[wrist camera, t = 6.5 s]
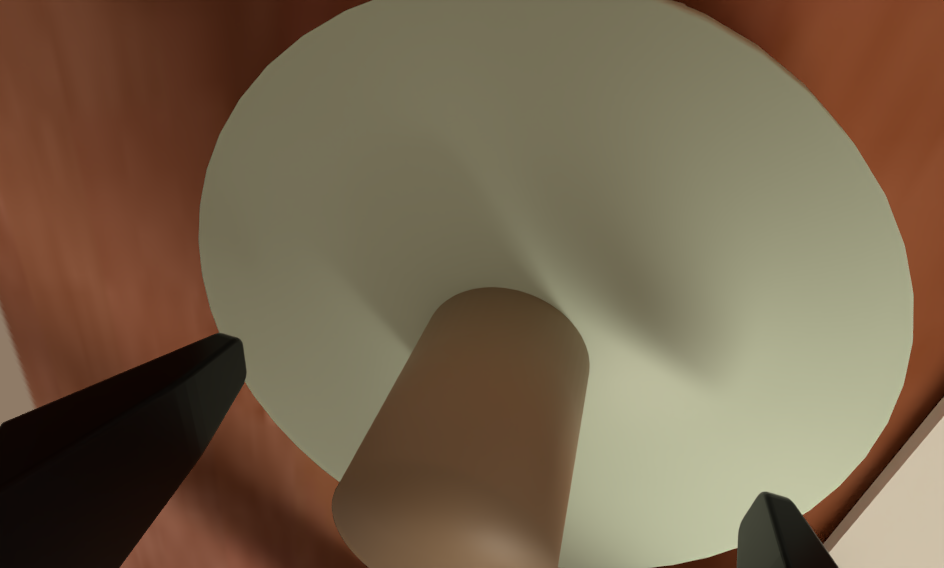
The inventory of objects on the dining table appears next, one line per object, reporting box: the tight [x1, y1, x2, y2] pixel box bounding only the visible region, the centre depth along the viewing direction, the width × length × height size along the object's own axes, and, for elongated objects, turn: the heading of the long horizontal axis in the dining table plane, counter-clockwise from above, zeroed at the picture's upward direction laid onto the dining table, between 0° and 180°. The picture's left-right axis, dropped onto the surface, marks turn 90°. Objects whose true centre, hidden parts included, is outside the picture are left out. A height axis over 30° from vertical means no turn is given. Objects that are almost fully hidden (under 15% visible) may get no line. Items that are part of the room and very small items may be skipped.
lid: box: [199, 0, 913, 568], centre depth 10 cm, size 13×13×5 cm
